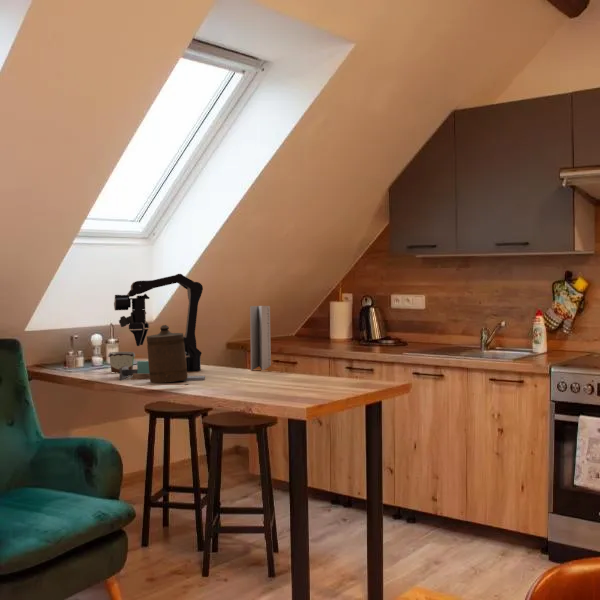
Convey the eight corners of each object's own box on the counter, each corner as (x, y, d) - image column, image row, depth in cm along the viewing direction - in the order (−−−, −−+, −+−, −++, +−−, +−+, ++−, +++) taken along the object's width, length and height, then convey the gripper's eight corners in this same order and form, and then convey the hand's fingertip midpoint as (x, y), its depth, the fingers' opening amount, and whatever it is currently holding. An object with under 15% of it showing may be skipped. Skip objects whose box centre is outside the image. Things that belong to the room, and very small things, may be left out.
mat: (205, 378, 329) (205, 375, 329) (204, 380, 319) (204, 377, 319) (176, 378, 328) (176, 376, 328) (174, 380, 318) (174, 378, 318)
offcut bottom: (163, 380, 331) (163, 376, 331) (162, 380, 328) (162, 377, 328) (132, 380, 330) (132, 377, 330) (131, 381, 327) (131, 378, 327)
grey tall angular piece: (263, 374, 341) (262, 305, 341) (250, 374, 342) (249, 305, 343) (270, 372, 355) (270, 305, 355) (259, 372, 356) (258, 306, 356)
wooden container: (172, 376, 325) (167, 323, 324) (195, 377, 315) (190, 323, 313) (142, 382, 314) (137, 327, 313) (165, 384, 304) (160, 327, 303)
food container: (139, 373, 361) (138, 351, 361) (134, 374, 355) (134, 352, 355) (112, 373, 362) (112, 351, 362) (108, 374, 356) (108, 352, 356)
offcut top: (162, 376, 331) (162, 373, 331) (161, 377, 328) (161, 373, 328) (133, 377, 330) (133, 373, 330) (132, 377, 327) (132, 374, 327)
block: (161, 377, 339) (161, 360, 340) (161, 377, 336) (161, 361, 337) (138, 377, 339) (138, 361, 339) (137, 378, 336) (137, 361, 336)
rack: (176, 375, 346) (176, 363, 346) (173, 379, 326) (173, 366, 327) (126, 376, 345) (126, 364, 345) (119, 380, 325) (119, 368, 325)
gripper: (123, 310, 352) (124, 345, 352) (116, 310, 334) (117, 347, 334) (148, 309, 353) (149, 344, 353) (142, 309, 334) (143, 346, 334)
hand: (139, 345), depth 343 cm, fingers open, 9 cm apart
